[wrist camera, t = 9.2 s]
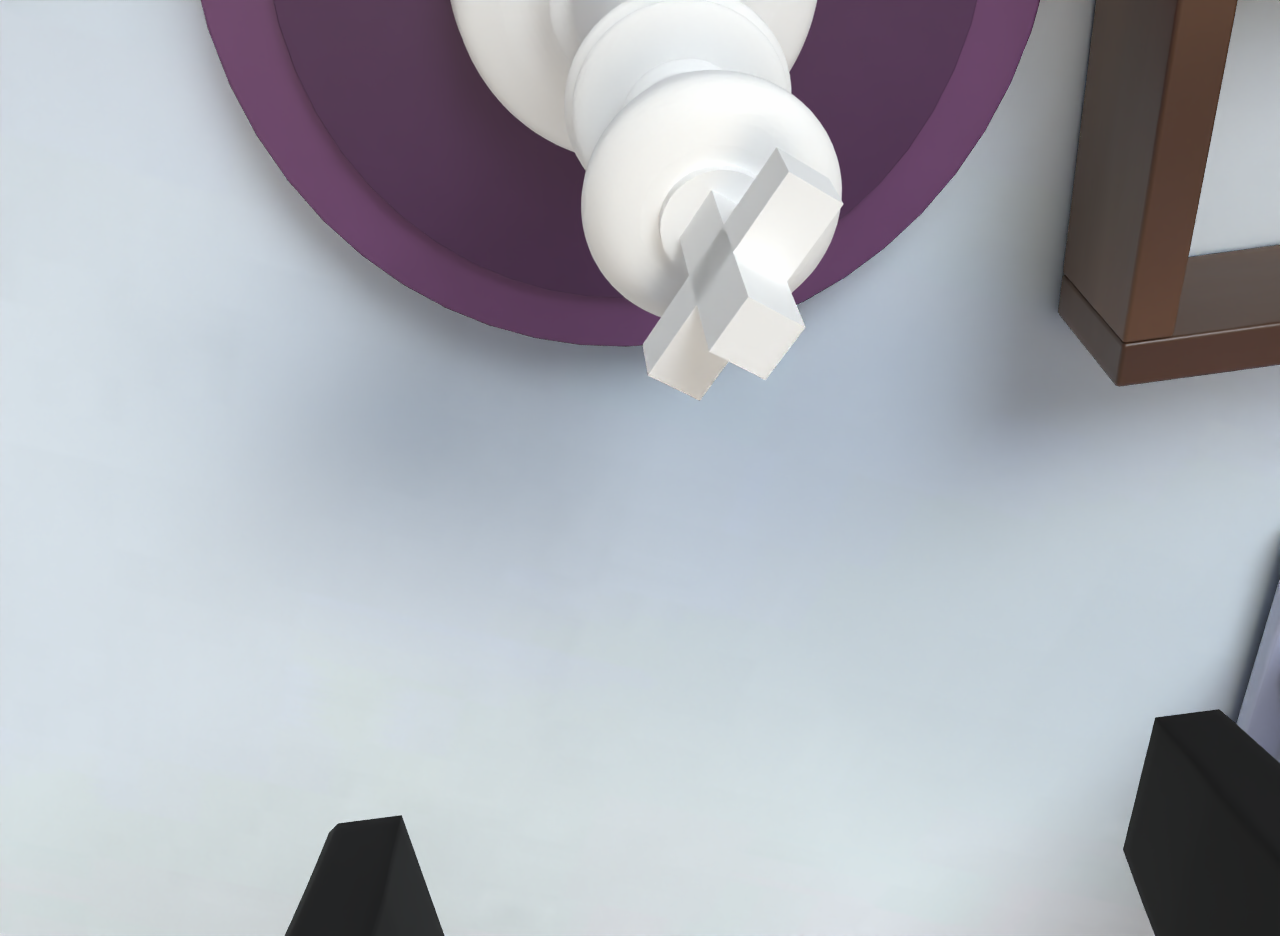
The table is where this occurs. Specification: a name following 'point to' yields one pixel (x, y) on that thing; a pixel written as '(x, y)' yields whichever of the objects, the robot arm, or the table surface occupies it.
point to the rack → (1159, 205)
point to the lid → (553, 176)
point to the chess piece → (678, 160)
